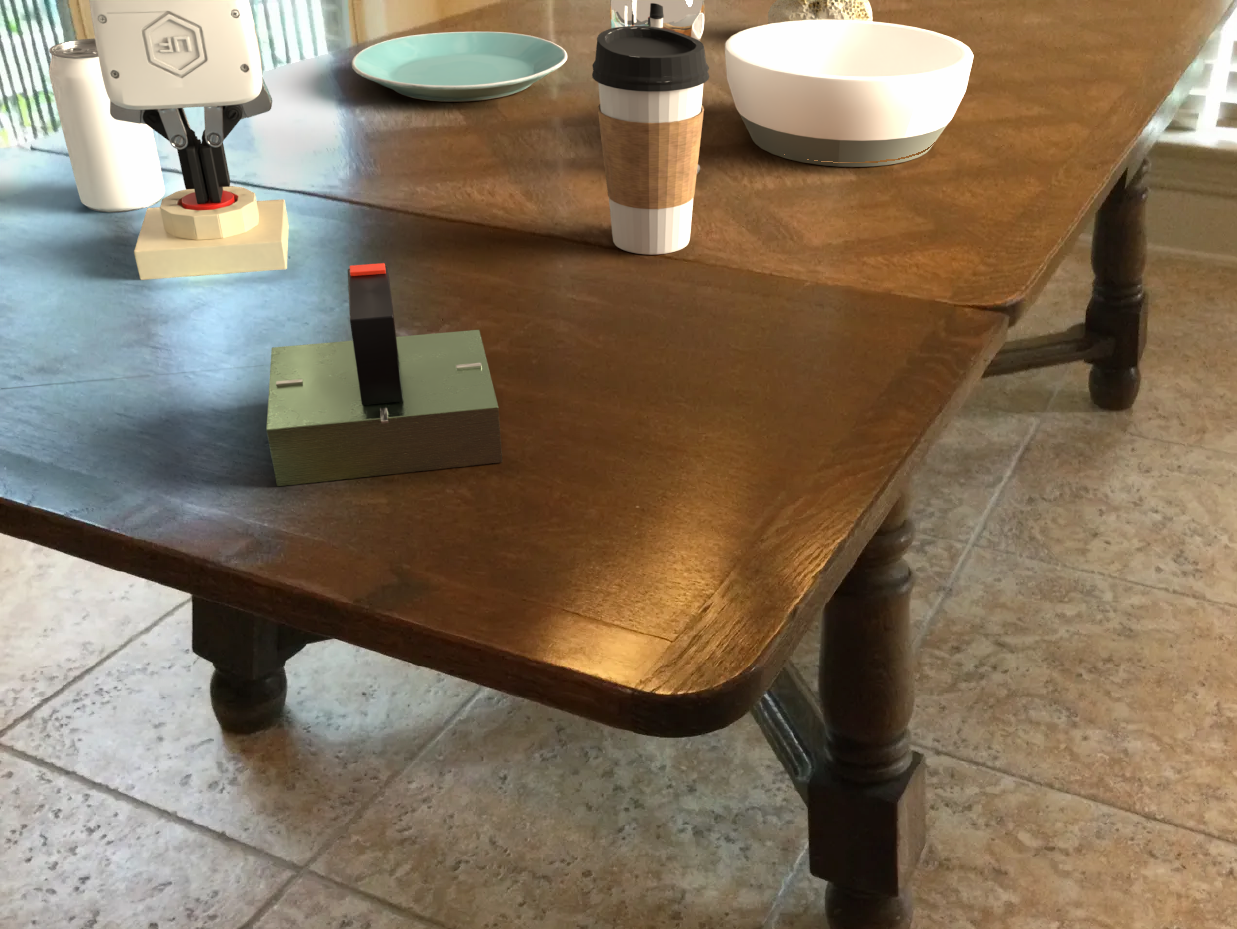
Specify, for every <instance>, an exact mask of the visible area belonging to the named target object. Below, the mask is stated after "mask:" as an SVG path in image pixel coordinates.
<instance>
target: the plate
mask: <svg viewBox="0 0 1237 929" xmlns="http://www.w3.org/2000/svg"><path fill="white" fill-rule="evenodd" d="M567 60H568V53H567V51H566V50H565V49H564V48H563V47H562V46H560V45H559V44H557V43H555V42H553V41H550V40H547V39H544V38H541V37H537V36H533V35H529V34H522V33H515V32H504V31H451V32H447V31H446V32H431V33H421V34H415V35H414V34H413V35H407V36H401V37H396V38H391V39H387V40H383V41H381V42H377V43H374V44H372V45H369V46H368V47H365V48H363V49H362V50H360V51H359V52H358V53H356V54H355V55H354V56H353V58H352V60H351V67H352V70H353V71H354V72H355V73H356V74H358V75H359V76H360V77H362V78H365V79H367V80H369V81H371V82H374V83H376V84H378V85H380V86H383V87H385V88H388V89H391V90H393V91H395V93H398V94H400V95H402V96H405V97H408V98H412V99H416V100H423V101H431V102H445V103H446V102H448V103H456V102H459V103H460V102H477V101H478V102H479V101H485V100H486V101H487V100H491V99H498V98H503V97H507V96H511V95H515V94H517V93H520V92H522V91H524V90H527V89H528V88H530V87H531V86H532V85H533V84H534V83H536V82H538V81H540V80H541V79H543V78H545V77H546V76H548V75H549V74H551V73H552V72H555V71H556V70H558V69H560V68H561V67H562V66H563V65H564V64H565V63H566V61H567Z"/></svg>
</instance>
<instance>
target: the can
mask: <svg viewBox="0 0 1237 929" xmlns="http://www.w3.org/2000/svg"><path fill="white" fill-rule="evenodd" d="M48 52H49V54H50V57H51V59H50V63H49V67H48V75H49V81H50V84H51V90H52V93H53V98H54V100H55V106H56V109H57V113H58V116H59V117H58V118H59V121H60V125H61V129H62V133H63V134H62V135H63V138H64V142H65V145H66V150H67V154H68V157H69V162H70V165H71V170H72V173H73V177H74V181H75V185H76V188H77V192H78V195H79V199H80V202H81V204H82V205H84V206H85V207H87V209H89V210H91V211H94V212H100V213H127V212H133V211H138V210H143V209H147V208H151V207H152V206H155V205H157V204H159V202H161V201H162V199H163V197H164V195H165V193H166V187H165V183H164V177H163V172H162V168H161V163H160V158H159V153H158V149H157V143H156V139H155V135H154V130H153V129H152V128H151V127H149V126H148V125H147V124H138V123H132V122H126V121H120V120H116V119H114V118H113V117H112V116H111V115H110V99H109V97H108V95H107V92H106V89H105V86H104V82H103V78H102V73H101V68H100V63H99V57H98V52H97V46H96V41H95V38H84V39H74V40H68V41H64V42H60V43H58V44H54V45H52V46H51V47H50V48H49V50H48Z"/></svg>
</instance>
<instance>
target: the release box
mask: <svg viewBox="0 0 1237 929" xmlns="http://www.w3.org/2000/svg"><path fill="white" fill-rule="evenodd" d="M223 190H224V191H228V192H231V193H232V194H233V196H234V200H235V203H233V204H231V205H230V206H226V207H222V208H218V209H214V210H199V211H197V210H189V209H184V208H183V206H182V198H183V197H184V196H186V195H188V194H190V193H193V192H195V190H194V189H186V188H185V189H181V190H178V191H174V192H173V193H171V194H169V195H167V196H165V197H164V198H163V197H162V199H161V201H160V206H158V207H157V206H156V207H154V206H153V207H147V208H146V211H145V215H144V218H143V221H142V225H141V228H140V231H139V234H138V237H137V241H136V244H135V247H134V249H133V254H134V255H133V256H134V259H135V262H136V263H135V264H136V267H137V272H138V276H139V280H140V281H147V280H160V279H161V280H162V279H173V278H174V279H176V278H187V277H202V276H203V277H204V276H215V275H228V274H241V273H254V272H255V273H256V272H269V271H282V270H284V271H285V270H287V269H288V252H289V251H288V250H289V233H290V232H289V230H290V224H289V219H288V217H289V216H288V212H287V206H286V200H285V199H284V198H283V199H282V198H281V199H267V200H257V195H256V193H255V192H254V191H252V190H250V189H248V188H245V187H243V186H233V185H230V187H223Z"/></svg>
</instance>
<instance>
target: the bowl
mask: <svg viewBox="0 0 1237 929" xmlns="http://www.w3.org/2000/svg"><path fill="white" fill-rule="evenodd" d="M724 59H725V72H726V73H725V74H726V82H727V84H728V88H729V91H730V93H731V97H732V101H733V103H734V106H735V109H736V111H737V112H738V114H739V116H740V117H741V120H742V122H743V124H744V125H745V127H746V129H747V132H748V134H749V135H750V138H751V140H752V141H753V143H754V144H755V146H758V147H759V148H760V149H762V150H764V151H765V152H767V153H770V154H771V155H775V156H776V157H777V156H778V157H779V158H780V157H781V158H783V159H786V160H790V161H791V160H792V161H795V162H800V163H804V164H812V165H818V166H828V167H829V166H830V167H839V168H841V167H842V168H843V167H844V168H846V167H847V168H864V167H865V168H867V167H881V166H888V165H889V166H890V165H895V164H900V163H901V164H902V163H906V162H909V161H912V160H915V159H918V158H920V157H922V156H924V155H925V154H928V152H929V151H930V150H931V149H932V147H933V146H934V144H935V143H936V141H937V140H938V139H939V137H940V136H941V134H942V133H943V132H944V130H945V129H946V128H947V126H948V125H949V123H950V122H951V121H952V119H953V117H954V116H955V114H956V112H957V110H958V108H959V106H960V104H961V102H962V99H963V98H964V95H965V94H966V91H967V87H968V83H969V79H970V74H971V69H972V65H973V60H974V54H973V51H972V50H971V48H970V47H969V46H968V45H967V44H965V43H963V42H962V41H960V40H958V39H956V38H953V37H951V36H948V35H945V34H942V33H939V32H936V31H933V30H928V29H924V28H920V27H915V26H909V25H904V24H898V23H889V22H881V21H873V20H872V21H858V20H802V21H788V22H780V23H772V24H763V25H758V26H753V27H750V28H746V29H743V30H740V31H738V32H736V33H735V34H733V35H731V36H730V37H729V38H728V39H727V40H726V41H725V43H724ZM934 142H935V143H934ZM933 143H934V144H933ZM932 144H933V145H932ZM931 145H932V146H931ZM930 146H931V147H930ZM928 147H930V148H929V149H928V150H926V151H925V152H923V153H921V154H919V155H915V156H912V157H909V158H905V159H900V160H895V161H887V162H878V163H833V162H865V161H880V160H886V159H898V158H901V157H906V156H909V155H912V154H916V153H918V152H921V151H923V150H925V149H927V148H928ZM784 154H785V155H784ZM807 159H809V160H807ZM814 160H818V161H814ZM821 161H833V162H821Z"/></svg>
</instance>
